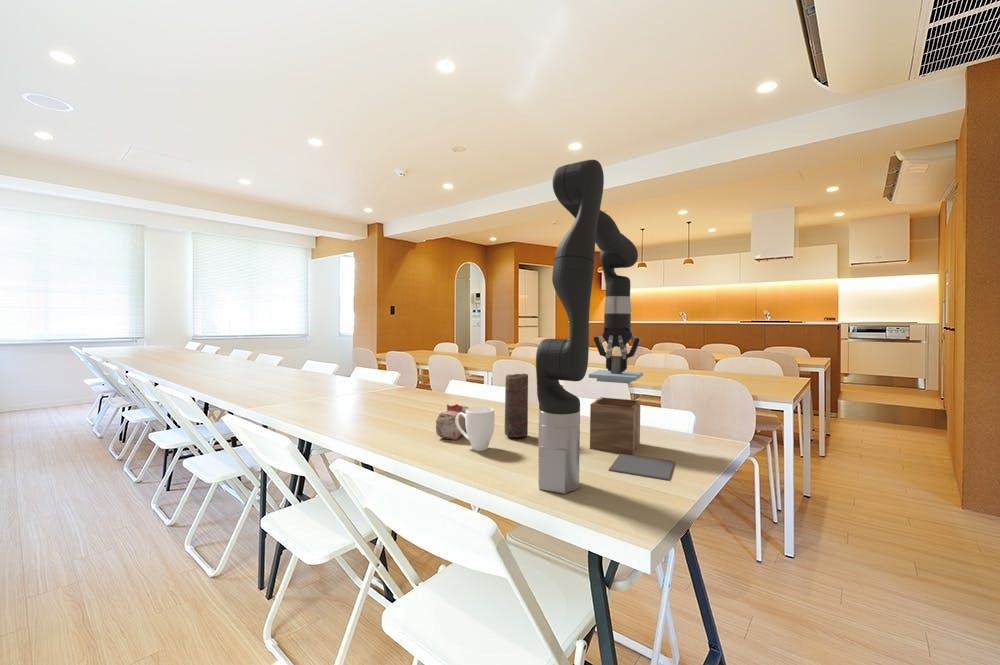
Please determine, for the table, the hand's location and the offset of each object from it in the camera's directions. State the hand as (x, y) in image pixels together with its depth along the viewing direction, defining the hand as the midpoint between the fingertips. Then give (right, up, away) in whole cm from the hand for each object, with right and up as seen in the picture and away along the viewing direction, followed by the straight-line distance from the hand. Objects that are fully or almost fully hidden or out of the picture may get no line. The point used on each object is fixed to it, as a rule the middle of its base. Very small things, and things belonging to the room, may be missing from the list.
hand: (616, 370), depth 128 cm
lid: (0, -3, 0) cm, 3 cm away
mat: (+2, -23, -16) cm, 28 cm away
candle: (-29, -22, +10) cm, 38 cm away
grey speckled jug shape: (-49, -22, +12) cm, 55 cm away
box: (0, -22, +1) cm, 22 cm away
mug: (-42, -22, -1) cm, 47 cm away
